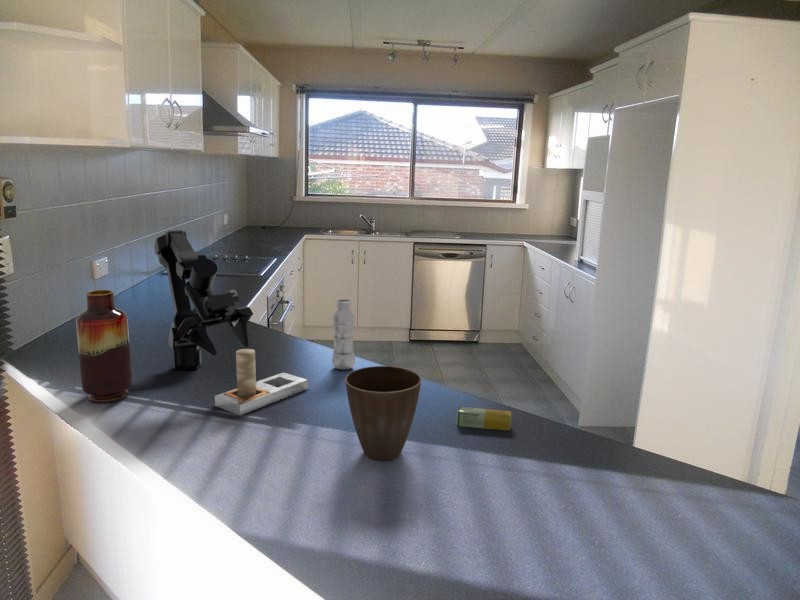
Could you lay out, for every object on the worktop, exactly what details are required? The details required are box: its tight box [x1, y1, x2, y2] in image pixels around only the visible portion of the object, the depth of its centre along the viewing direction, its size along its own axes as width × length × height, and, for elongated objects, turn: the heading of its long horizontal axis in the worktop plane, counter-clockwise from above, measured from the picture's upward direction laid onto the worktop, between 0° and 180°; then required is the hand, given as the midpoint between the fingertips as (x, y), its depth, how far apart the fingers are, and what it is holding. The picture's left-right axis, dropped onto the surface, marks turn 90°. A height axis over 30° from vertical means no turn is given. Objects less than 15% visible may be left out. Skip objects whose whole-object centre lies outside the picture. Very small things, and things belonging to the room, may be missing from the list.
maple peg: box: [235, 348, 257, 399], centre depth 144 cm, size 4×4×13 cm
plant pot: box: [344, 365, 422, 462], centre depth 119 cm, size 15×15×16 cm
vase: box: [75, 289, 133, 404], centre depth 144 cm, size 11×11×26 cm
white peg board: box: [214, 372, 309, 416], centre depth 149 cm, size 22×9×3 cm, turn 144°
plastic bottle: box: [331, 298, 356, 370], centre depth 170 cm, size 6×7×20 cm
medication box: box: [456, 406, 512, 431], centre depth 135 cm, size 12×3×4 cm, turn 81°
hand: (231, 350), depth 146 cm, fingers open, 9 cm apart
